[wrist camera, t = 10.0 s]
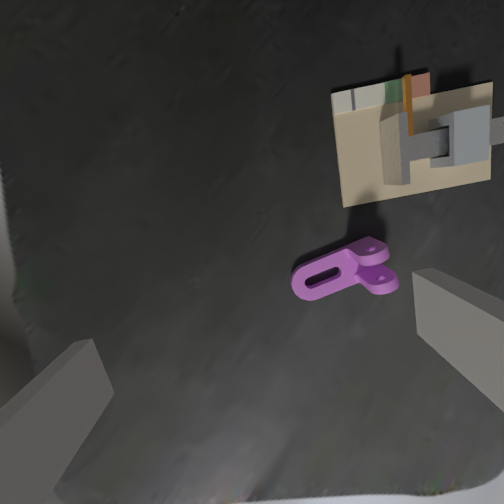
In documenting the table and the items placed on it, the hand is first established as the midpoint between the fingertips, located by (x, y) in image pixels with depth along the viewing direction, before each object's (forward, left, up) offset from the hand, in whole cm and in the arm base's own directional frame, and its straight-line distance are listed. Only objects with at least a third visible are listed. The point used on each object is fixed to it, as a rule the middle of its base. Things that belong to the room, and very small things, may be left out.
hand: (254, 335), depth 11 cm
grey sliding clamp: (-8, +25, -28) cm, 39 cm away
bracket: (+9, +11, -29) cm, 32 cm away
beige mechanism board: (-7, +23, -29) cm, 37 cm away
